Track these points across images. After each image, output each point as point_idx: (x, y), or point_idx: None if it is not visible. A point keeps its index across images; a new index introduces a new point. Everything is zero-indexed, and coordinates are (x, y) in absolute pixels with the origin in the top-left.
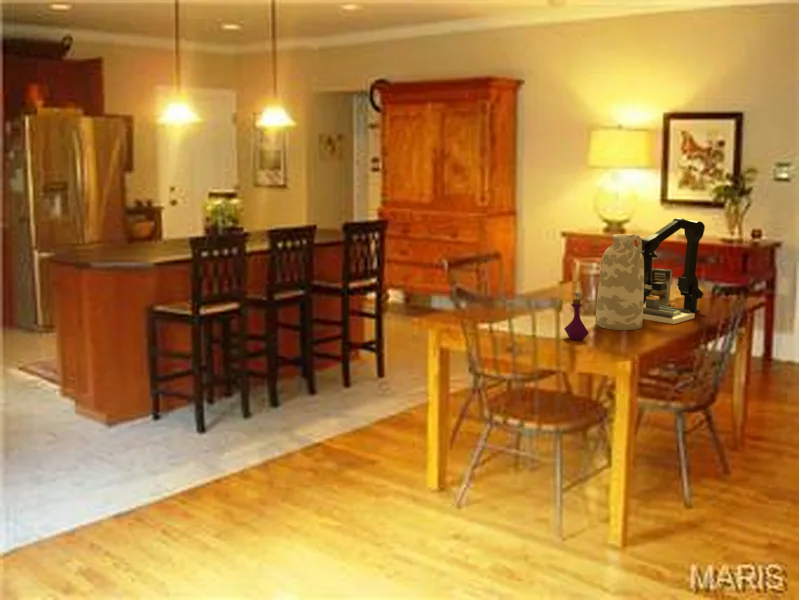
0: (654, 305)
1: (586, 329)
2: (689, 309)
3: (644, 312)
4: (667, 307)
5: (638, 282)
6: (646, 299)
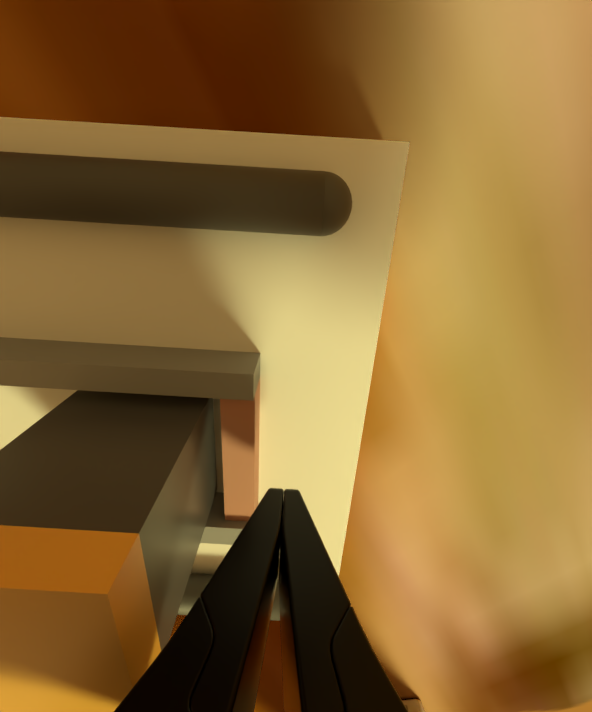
0: (23, 444)
1: None
2: None
3: (64, 157)
4: None
5: None
6: (136, 517)
